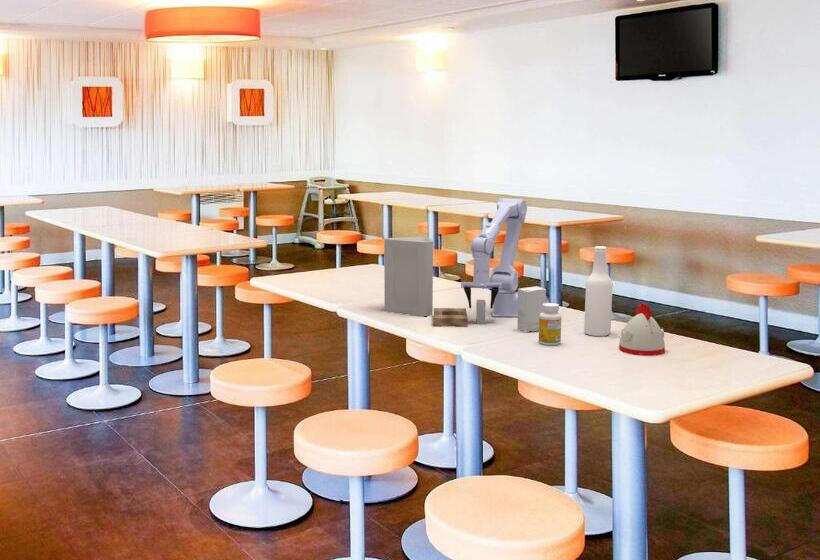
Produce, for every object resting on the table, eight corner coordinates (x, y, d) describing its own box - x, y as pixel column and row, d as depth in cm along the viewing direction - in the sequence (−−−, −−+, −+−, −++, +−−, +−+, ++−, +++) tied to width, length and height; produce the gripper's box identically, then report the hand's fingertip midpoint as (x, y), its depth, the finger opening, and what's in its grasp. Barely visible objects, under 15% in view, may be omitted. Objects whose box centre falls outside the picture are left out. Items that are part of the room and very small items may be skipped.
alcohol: (579, 332, 298) (582, 245, 293) (601, 330, 301) (604, 244, 296) (593, 337, 289) (596, 248, 284) (615, 335, 293) (619, 247, 288)
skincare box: (536, 327, 305) (537, 285, 303) (546, 330, 300) (547, 288, 297) (516, 329, 302) (517, 287, 299) (525, 332, 296) (526, 290, 294)
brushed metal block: (484, 321, 314) (484, 299, 313) (485, 324, 310) (485, 302, 308) (476, 321, 315) (476, 299, 313) (476, 324, 310) (477, 302, 308)
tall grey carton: (446, 310, 334) (446, 238, 329) (426, 317, 321) (427, 242, 317) (404, 305, 344) (404, 235, 339) (383, 311, 331) (383, 239, 326)
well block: (465, 316, 323) (465, 308, 323) (467, 326, 305) (467, 318, 305) (433, 315, 323) (433, 308, 323) (433, 326, 306) (433, 318, 305)
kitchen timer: (633, 357, 265) (635, 309, 262) (611, 346, 278) (613, 300, 275) (673, 354, 268) (675, 306, 266) (649, 343, 281) (651, 298, 279)
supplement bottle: (536, 340, 285) (537, 302, 283) (557, 340, 286) (558, 302, 283) (541, 345, 278) (542, 306, 276) (563, 345, 279) (564, 306, 276)
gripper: (461, 272, 305) (460, 309, 307) (502, 272, 305) (501, 310, 307) (461, 269, 312) (460, 306, 314) (501, 269, 312) (500, 306, 314)
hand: (480, 307), depth 311 cm, fingers open, 7 cm apart
